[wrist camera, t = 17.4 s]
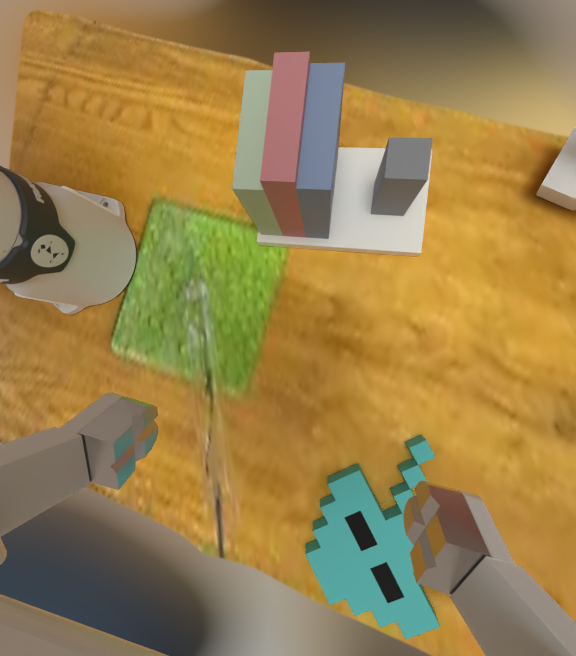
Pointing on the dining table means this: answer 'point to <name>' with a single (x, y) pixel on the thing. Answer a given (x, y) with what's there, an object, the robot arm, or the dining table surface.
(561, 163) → the figurine
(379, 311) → the dining table surface
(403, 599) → the alien figure
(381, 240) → the shelf board
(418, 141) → the bookend block
